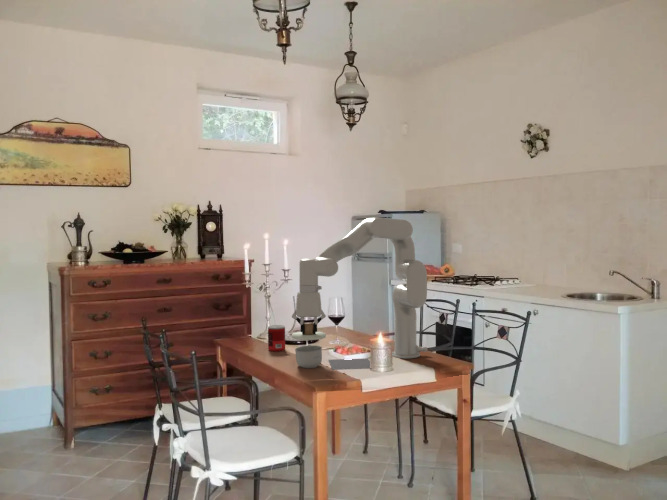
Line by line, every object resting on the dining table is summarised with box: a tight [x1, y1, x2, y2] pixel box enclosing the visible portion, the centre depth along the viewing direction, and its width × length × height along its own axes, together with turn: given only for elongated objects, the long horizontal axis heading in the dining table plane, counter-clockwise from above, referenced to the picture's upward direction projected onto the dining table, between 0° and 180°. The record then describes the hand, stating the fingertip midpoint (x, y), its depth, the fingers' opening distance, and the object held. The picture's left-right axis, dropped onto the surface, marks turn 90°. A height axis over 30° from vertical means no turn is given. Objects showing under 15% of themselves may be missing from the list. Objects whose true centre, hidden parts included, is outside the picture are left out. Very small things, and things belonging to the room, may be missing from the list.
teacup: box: [294, 344, 323, 369], centre depth 242 cm, size 14×11×8 cm
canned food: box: [267, 324, 286, 353], centre depth 273 cm, size 8×8×11 cm
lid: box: [291, 322, 327, 341], centre depth 241 cm, size 14×14×6 cm
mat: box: [327, 357, 371, 371], centre depth 244 cm, size 17×17×1 cm
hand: (308, 333), depth 241 cm, fingers closed on lid, 4 cm apart
